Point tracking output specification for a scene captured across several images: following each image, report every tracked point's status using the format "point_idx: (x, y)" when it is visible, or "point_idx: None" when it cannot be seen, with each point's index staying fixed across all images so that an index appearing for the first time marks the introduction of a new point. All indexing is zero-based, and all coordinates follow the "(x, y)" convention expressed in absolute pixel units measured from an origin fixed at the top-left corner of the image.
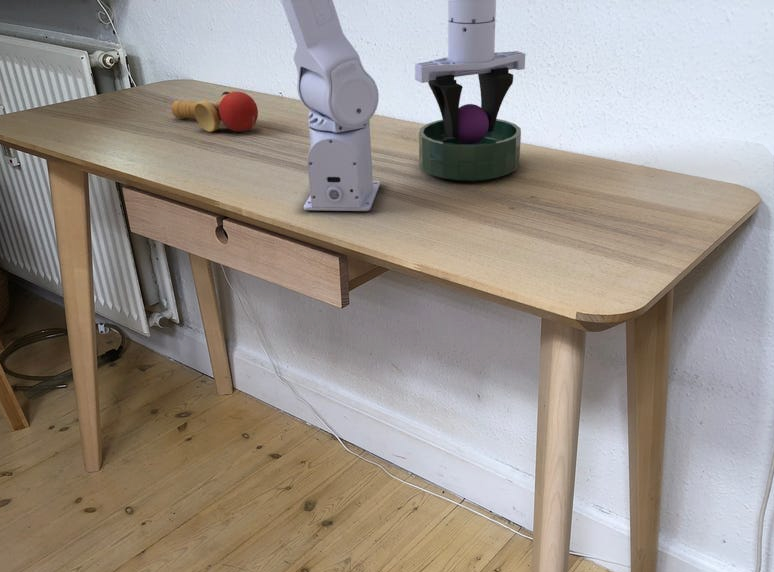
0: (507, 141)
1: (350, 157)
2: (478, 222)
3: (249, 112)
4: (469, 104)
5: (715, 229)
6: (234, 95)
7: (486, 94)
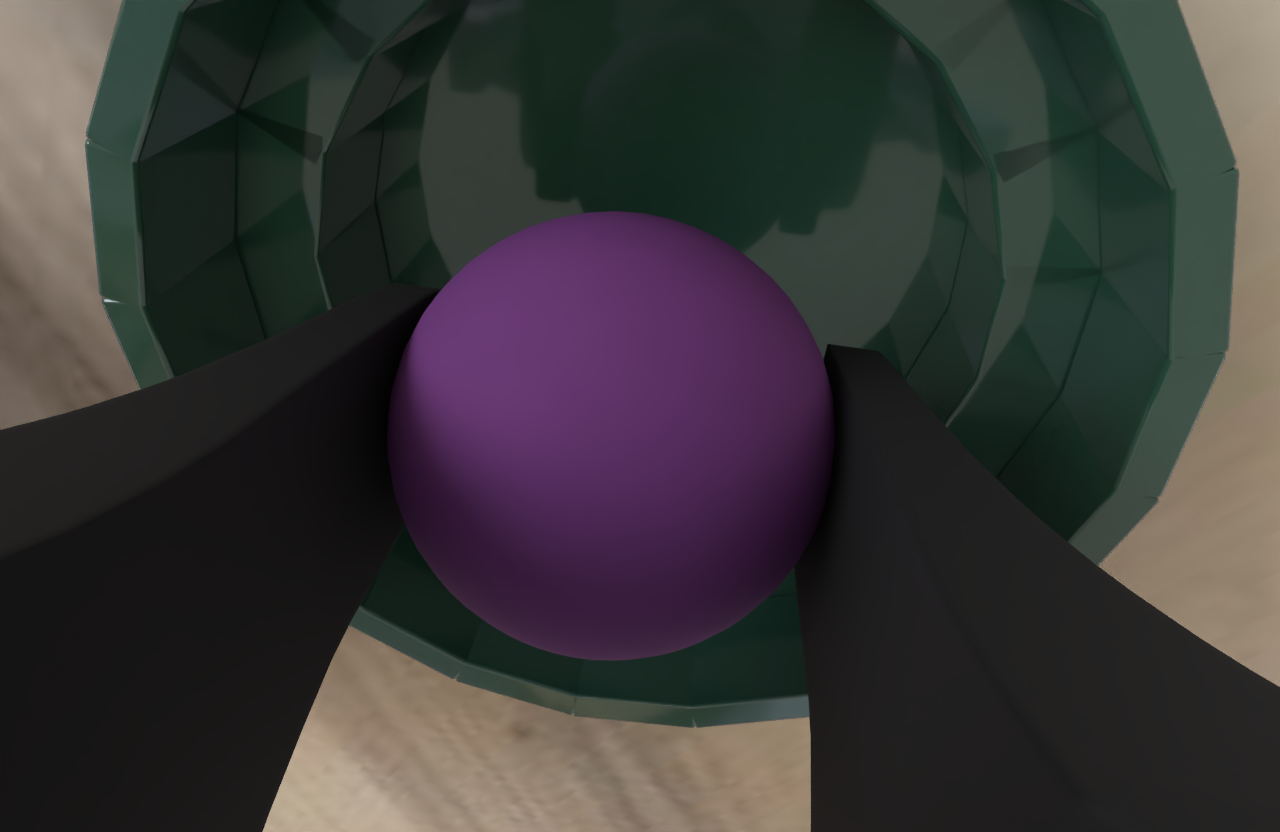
0: (710, 722)
1: None
2: (341, 740)
3: None
4: (573, 586)
5: None
6: None
7: (867, 711)
